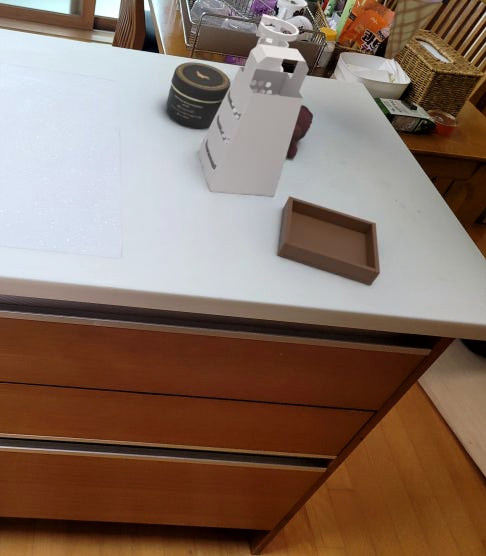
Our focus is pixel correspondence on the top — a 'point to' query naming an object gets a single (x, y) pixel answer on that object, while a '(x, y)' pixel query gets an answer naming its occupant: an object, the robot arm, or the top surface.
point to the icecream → (300, 129)
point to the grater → (254, 126)
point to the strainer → (273, 43)
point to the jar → (196, 94)
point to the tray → (329, 240)
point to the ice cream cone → (407, 23)
